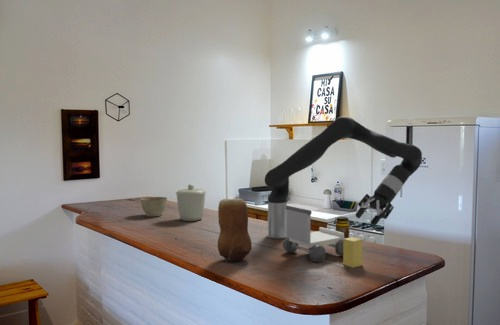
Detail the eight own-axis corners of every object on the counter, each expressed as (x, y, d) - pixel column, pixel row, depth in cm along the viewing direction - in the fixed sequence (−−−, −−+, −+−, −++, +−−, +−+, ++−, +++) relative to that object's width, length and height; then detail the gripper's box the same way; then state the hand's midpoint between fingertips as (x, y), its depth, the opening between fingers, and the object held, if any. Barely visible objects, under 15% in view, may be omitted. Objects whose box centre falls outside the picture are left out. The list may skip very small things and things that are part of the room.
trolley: (312, 264, 167) (312, 211, 166) (281, 253, 183) (281, 205, 182) (350, 255, 179) (351, 206, 177) (318, 245, 195) (319, 200, 193)
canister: (172, 218, 262) (171, 183, 261) (201, 215, 270) (200, 182, 268) (180, 223, 246) (180, 186, 244) (210, 221, 253) (210, 185, 252)
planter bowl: (172, 214, 274) (172, 197, 273) (154, 219, 260) (154, 201, 260) (154, 212, 282) (153, 195, 282) (135, 216, 269) (135, 199, 268)
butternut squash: (233, 253, 182) (232, 194, 181) (258, 259, 174) (258, 197, 172) (210, 261, 172) (209, 198, 170) (235, 267, 163) (234, 201, 162)
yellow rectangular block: (353, 267, 163) (353, 241, 162) (343, 264, 167) (343, 238, 166) (362, 265, 165) (362, 239, 165) (352, 262, 169) (352, 236, 169)
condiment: (347, 246, 194) (347, 219, 193) (329, 244, 198) (329, 218, 197) (351, 242, 200) (352, 217, 199) (334, 240, 204) (334, 215, 204)
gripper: (371, 178, 177) (347, 209, 174) (397, 188, 164) (372, 221, 162) (380, 189, 180) (357, 220, 178) (406, 199, 168) (382, 232, 165)
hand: (364, 220), depth 170 cm, fingers open, 8 cm apart
